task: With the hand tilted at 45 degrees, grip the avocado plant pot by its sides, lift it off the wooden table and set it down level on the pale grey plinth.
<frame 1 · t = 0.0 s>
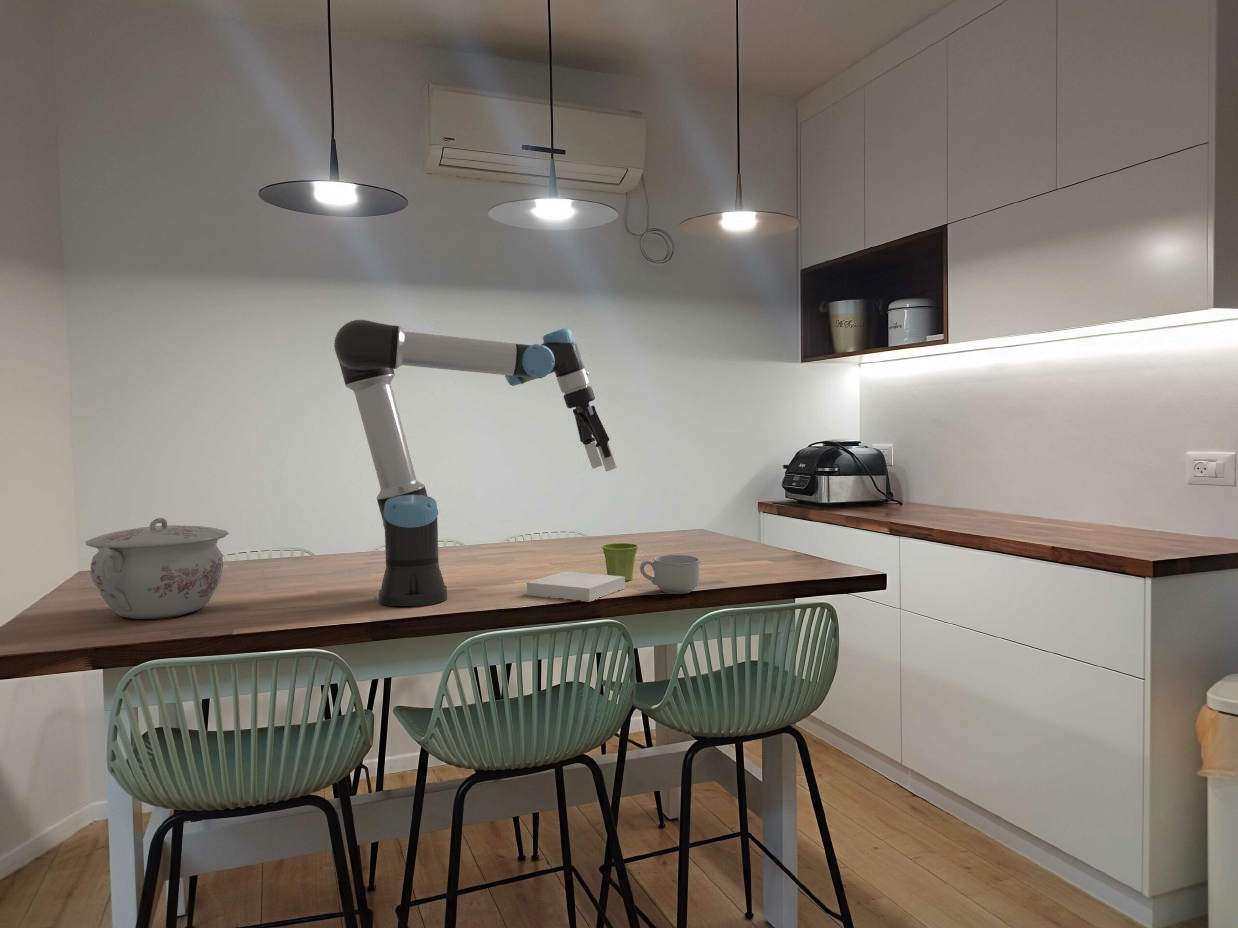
hand: (604, 468, 221), 28 cm above the table, tool tilted 20°, fingers open, 13 cm apart
plinth: (576, 592, 203), on the table
plant pot: (620, 580, 218), on the table
teacup: (670, 592, 202), on the table
chamber pot: (161, 613, 188), on the table
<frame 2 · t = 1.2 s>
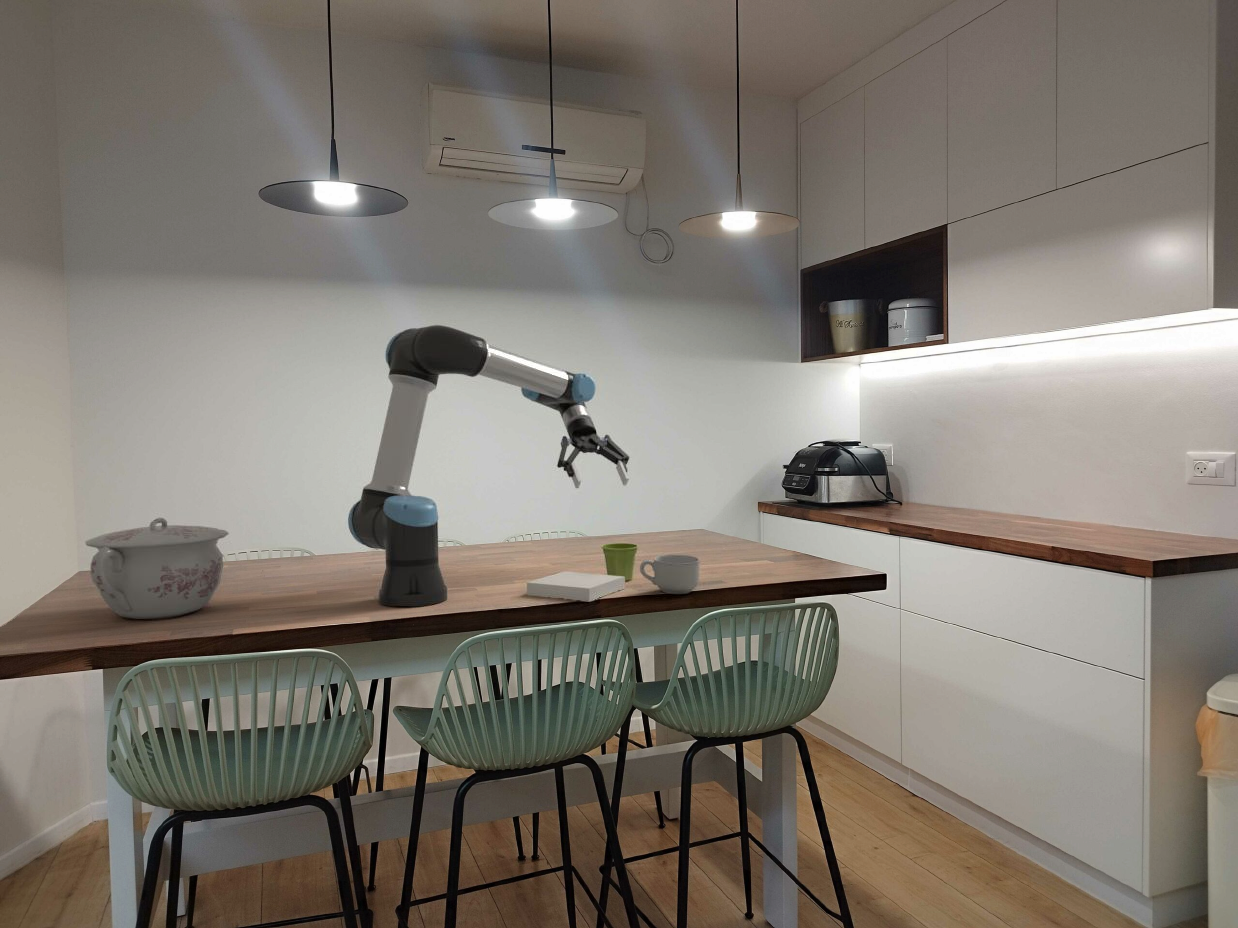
hand: (602, 483, 226), 24 cm above the table, tool tilted 45°, fingers open, 13 cm apart
nothing on the table moved.
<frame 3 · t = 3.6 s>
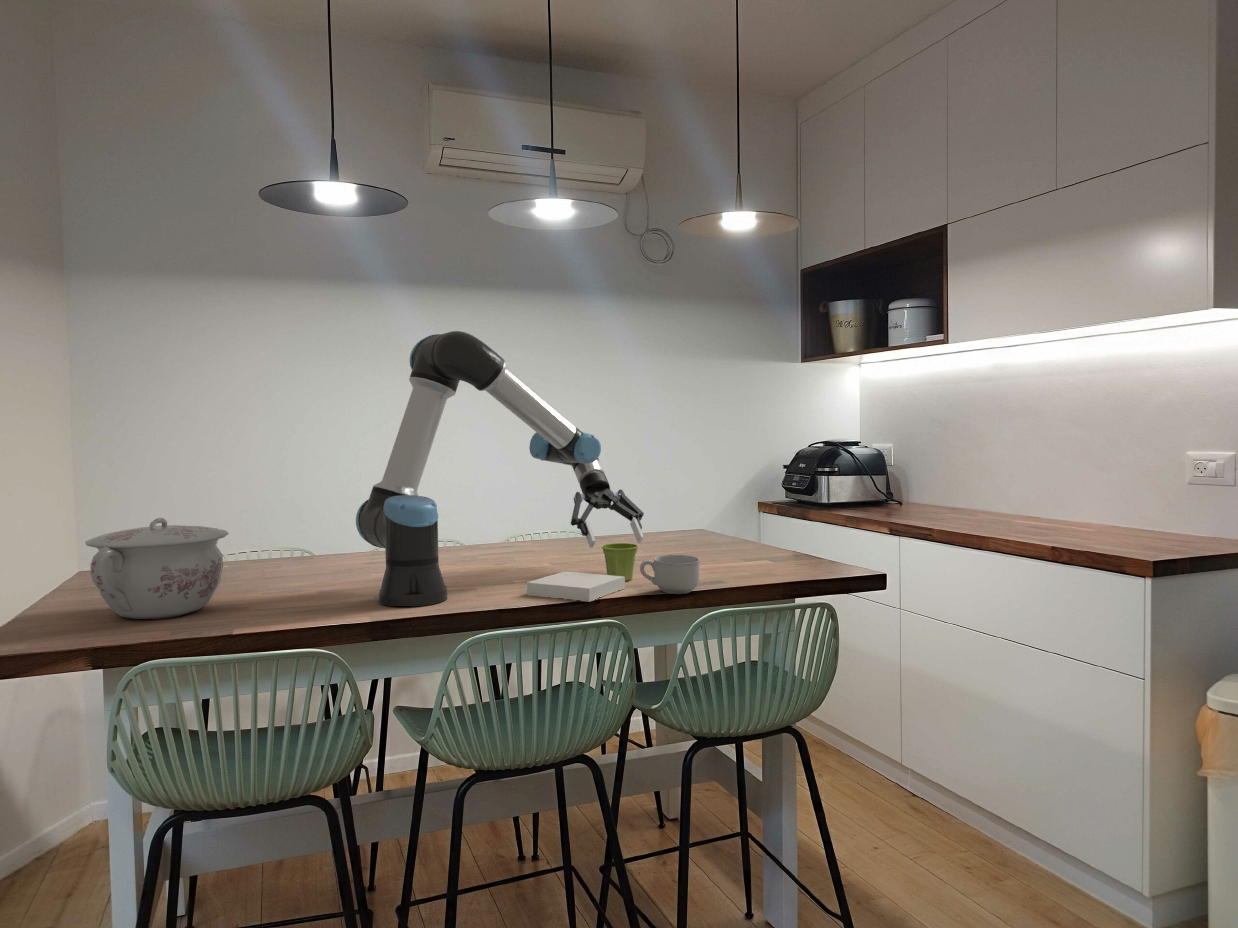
hand: (617, 542, 222), 9 cm above the table, tool tilted 45°, fingers open, 13 cm apart
nothing on the table moved.
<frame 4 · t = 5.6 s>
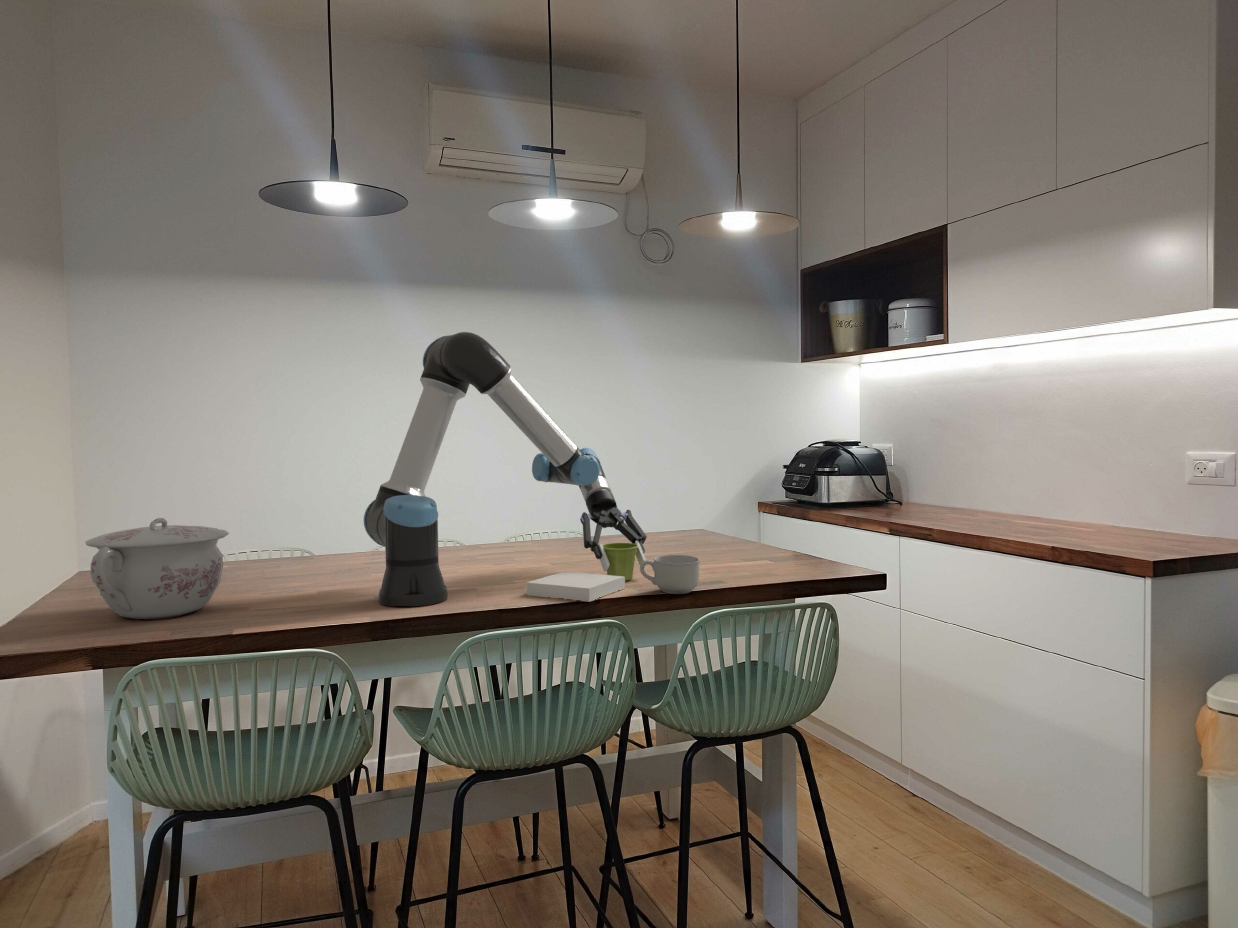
hand: (625, 566, 215), 4 cm above the table, tool tilted 45°, fingers closed on plant pot, 9 cm apart
plant pot: (620, 580, 218), on the table, touching gripper
everything else where it was.
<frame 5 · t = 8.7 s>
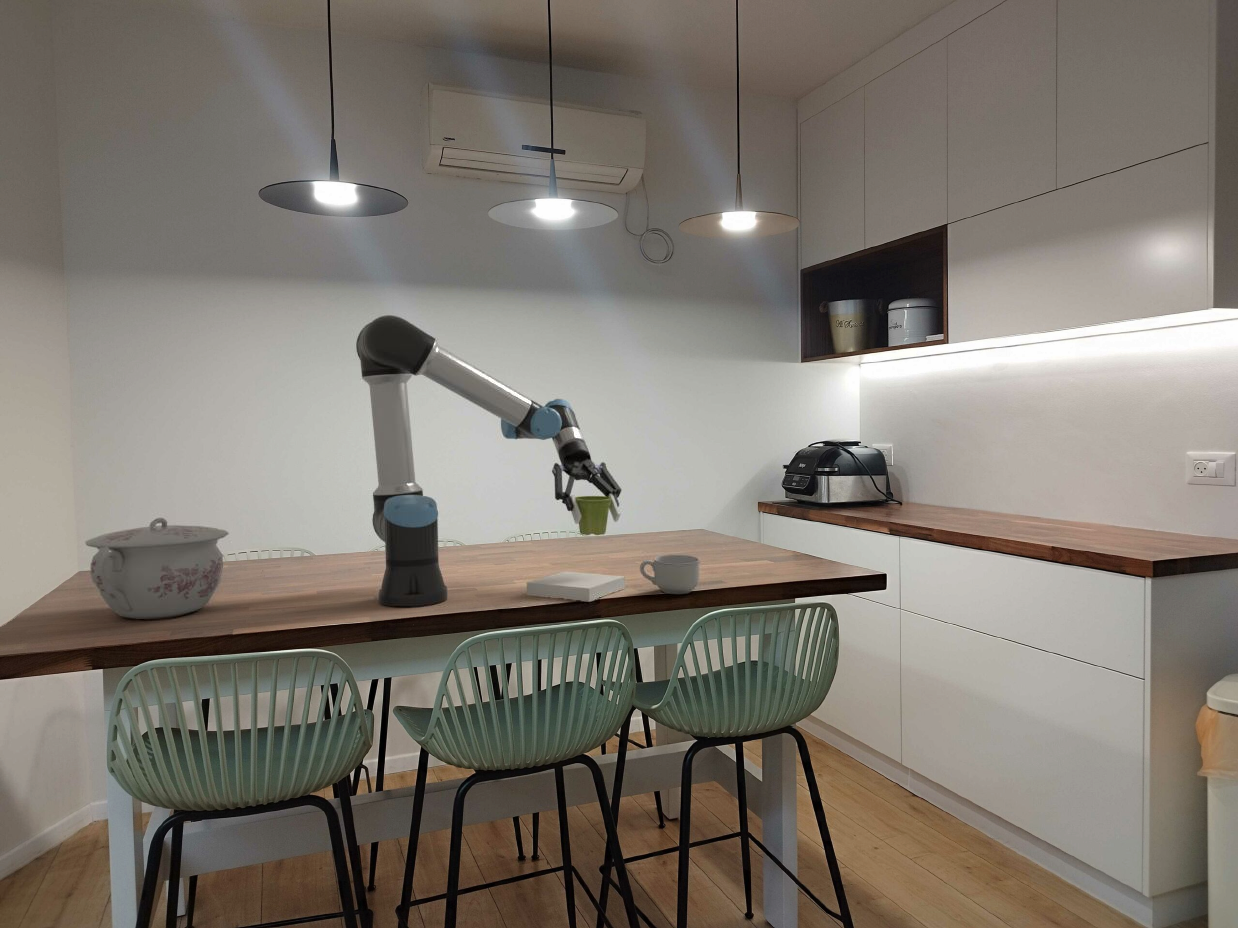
hand: (598, 519, 204), 17 cm above the table, tool tilted 45°, fingers closed on plant pot, 9 cm apart
plant pot: (593, 534, 207), point 13 cm above the table, touching gripper
everything else where it was.
when the fingers open (8 cm above the table, at t = 11.8 s): plant pot drops 1 cm, resting on plinth.
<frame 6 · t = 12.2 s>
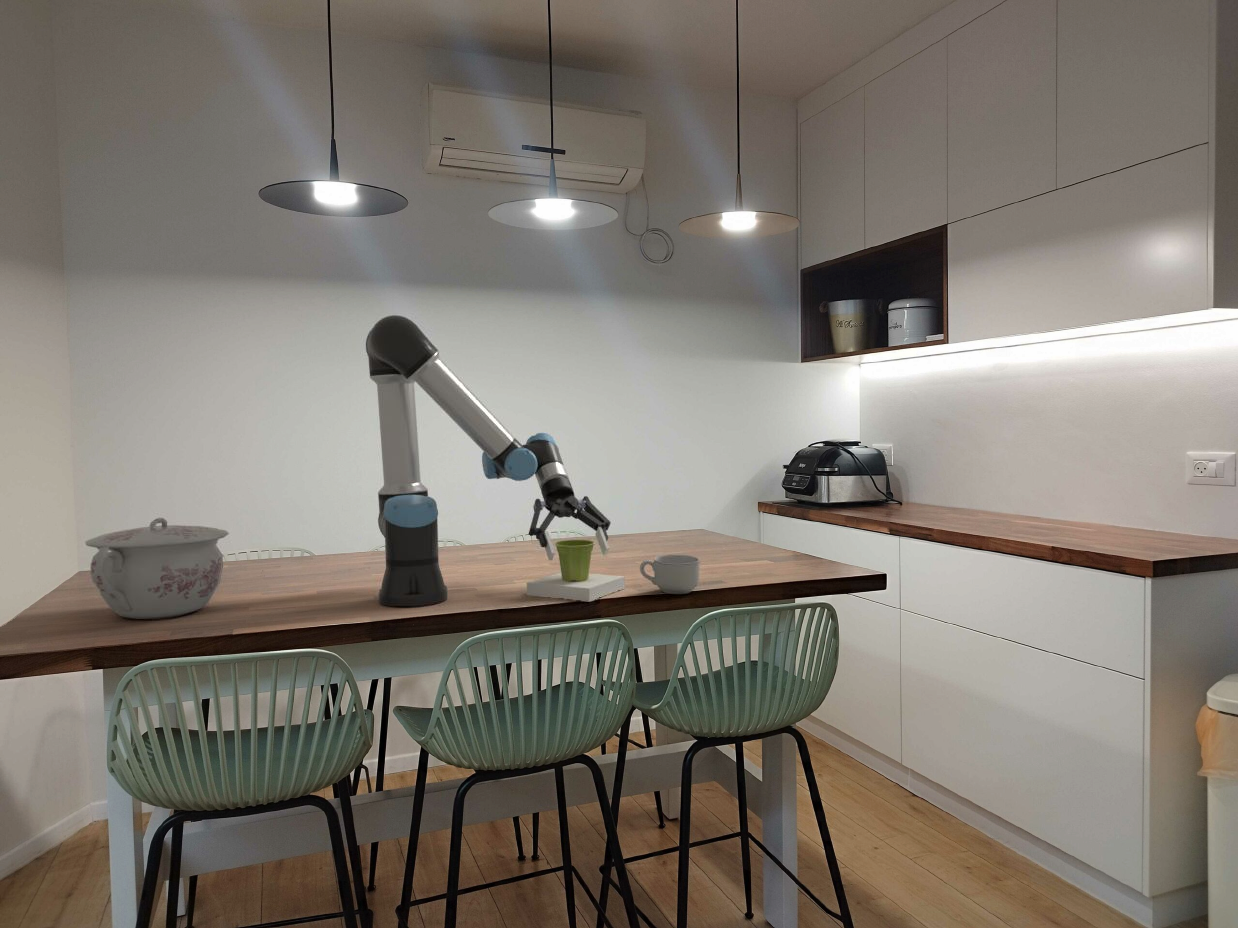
hand: (579, 554, 200), 9 cm above the table, tool tilted 45°, fingers open, 13 cm apart
plant pot: (575, 580, 203), point 3 cm above the table, touching plinth
everything else where it was.
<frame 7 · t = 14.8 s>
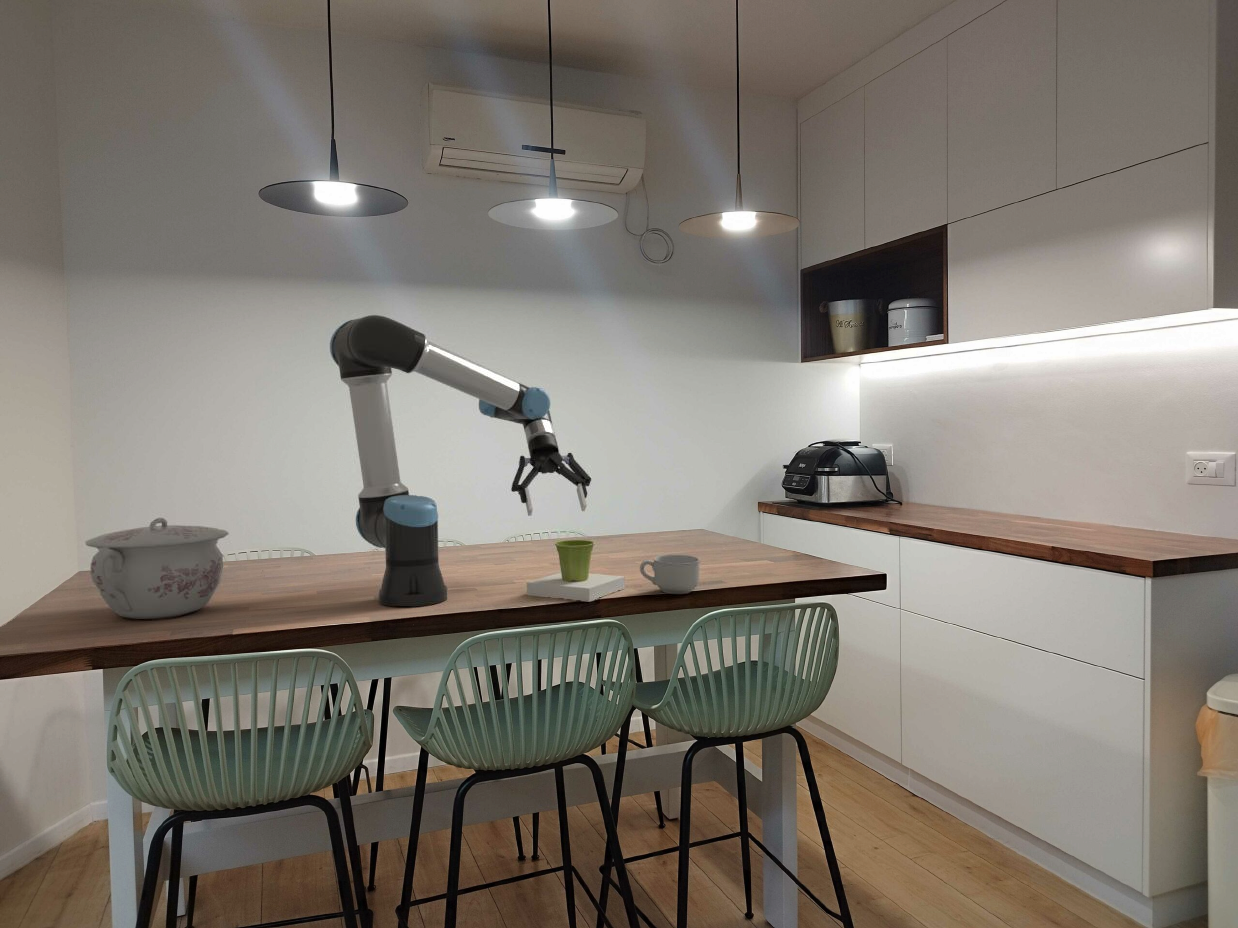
hand: (557, 510, 213), 18 cm above the table, tool tilted 40°, fingers open, 13 cm apart
nothing on the table moved.
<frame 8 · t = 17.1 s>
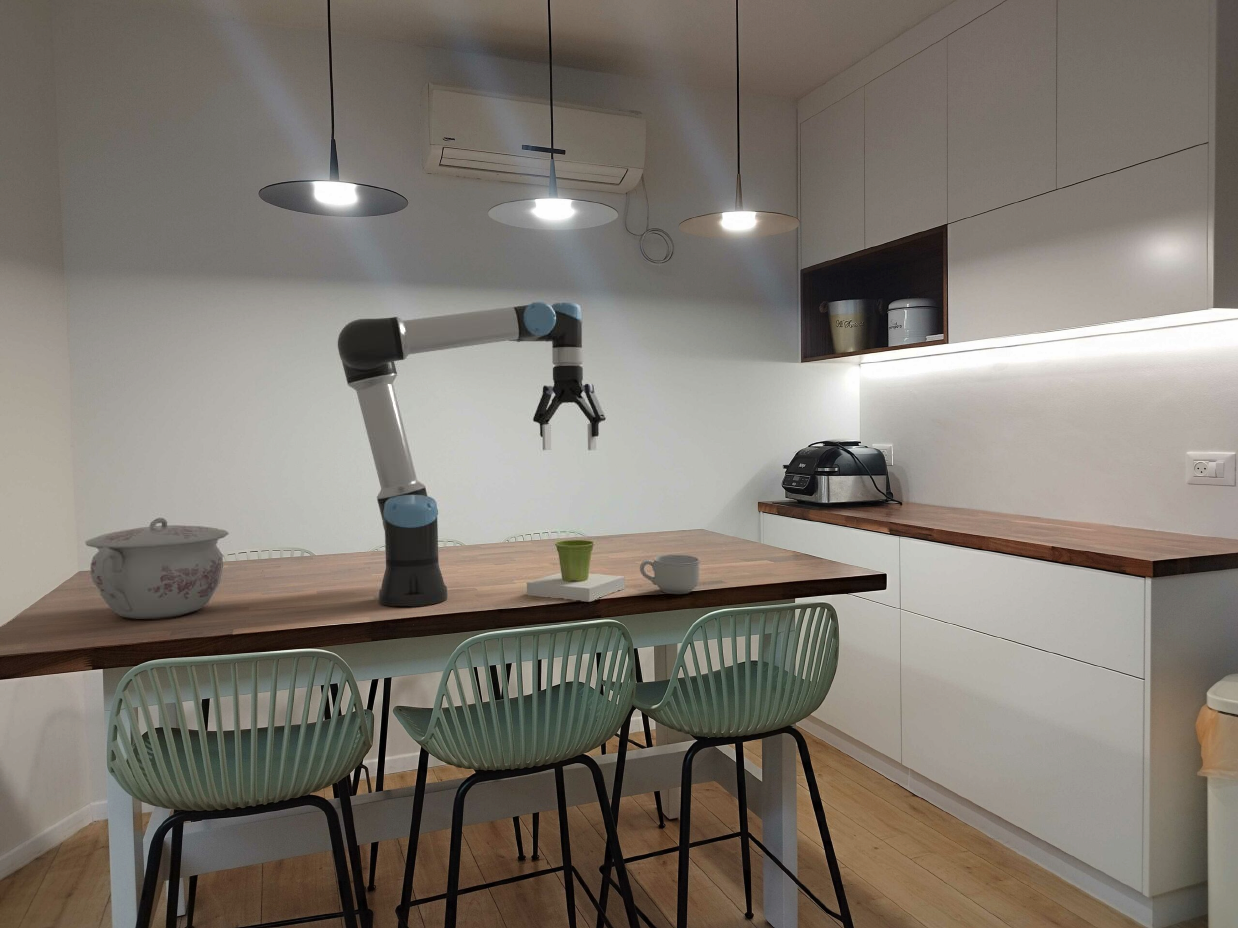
hand: (569, 450, 219), 33 cm above the table, tool pointing down, fingers open, 13 cm apart
nothing on the table moved.
at the end: plant pot inside the target area on the plinth (0.2 cm from its centre), point 2.8 cm above the plinth's base; plant pot tilted 0°; the gripper is holding nothing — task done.
